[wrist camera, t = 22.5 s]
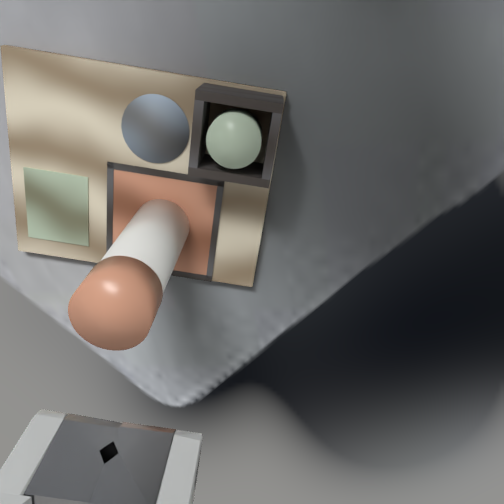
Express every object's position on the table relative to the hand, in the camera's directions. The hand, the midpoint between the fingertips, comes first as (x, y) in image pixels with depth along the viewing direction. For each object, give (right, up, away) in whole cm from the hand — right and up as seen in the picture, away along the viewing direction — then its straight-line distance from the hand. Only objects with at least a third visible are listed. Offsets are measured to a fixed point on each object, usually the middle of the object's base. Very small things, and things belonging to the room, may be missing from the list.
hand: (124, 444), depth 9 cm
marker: (-5, +6, +29) cm, 30 cm away
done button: (+1, +12, +23) cm, 26 cm away
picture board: (-6, +10, +28) cm, 30 cm away
